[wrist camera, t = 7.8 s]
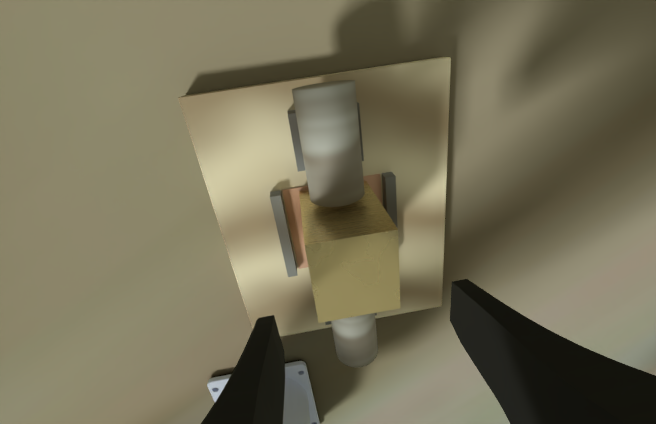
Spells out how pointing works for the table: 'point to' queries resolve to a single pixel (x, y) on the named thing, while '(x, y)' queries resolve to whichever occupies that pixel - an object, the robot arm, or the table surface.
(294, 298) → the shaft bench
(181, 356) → the table surface
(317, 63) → the table surface
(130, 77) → the table surface
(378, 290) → the coupler
